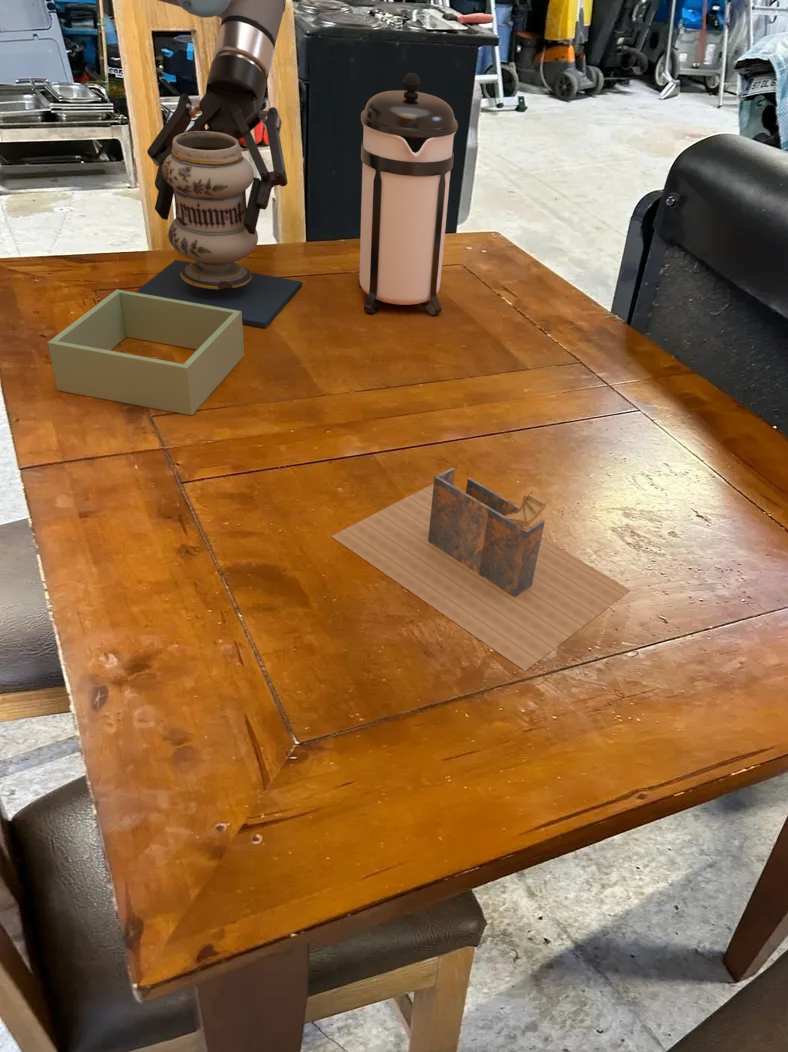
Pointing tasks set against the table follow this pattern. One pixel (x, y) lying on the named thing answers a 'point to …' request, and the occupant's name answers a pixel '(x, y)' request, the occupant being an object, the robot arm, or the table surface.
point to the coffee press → (404, 196)
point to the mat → (227, 294)
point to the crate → (145, 380)
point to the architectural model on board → (484, 566)
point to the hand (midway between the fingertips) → (204, 221)
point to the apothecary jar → (210, 208)
